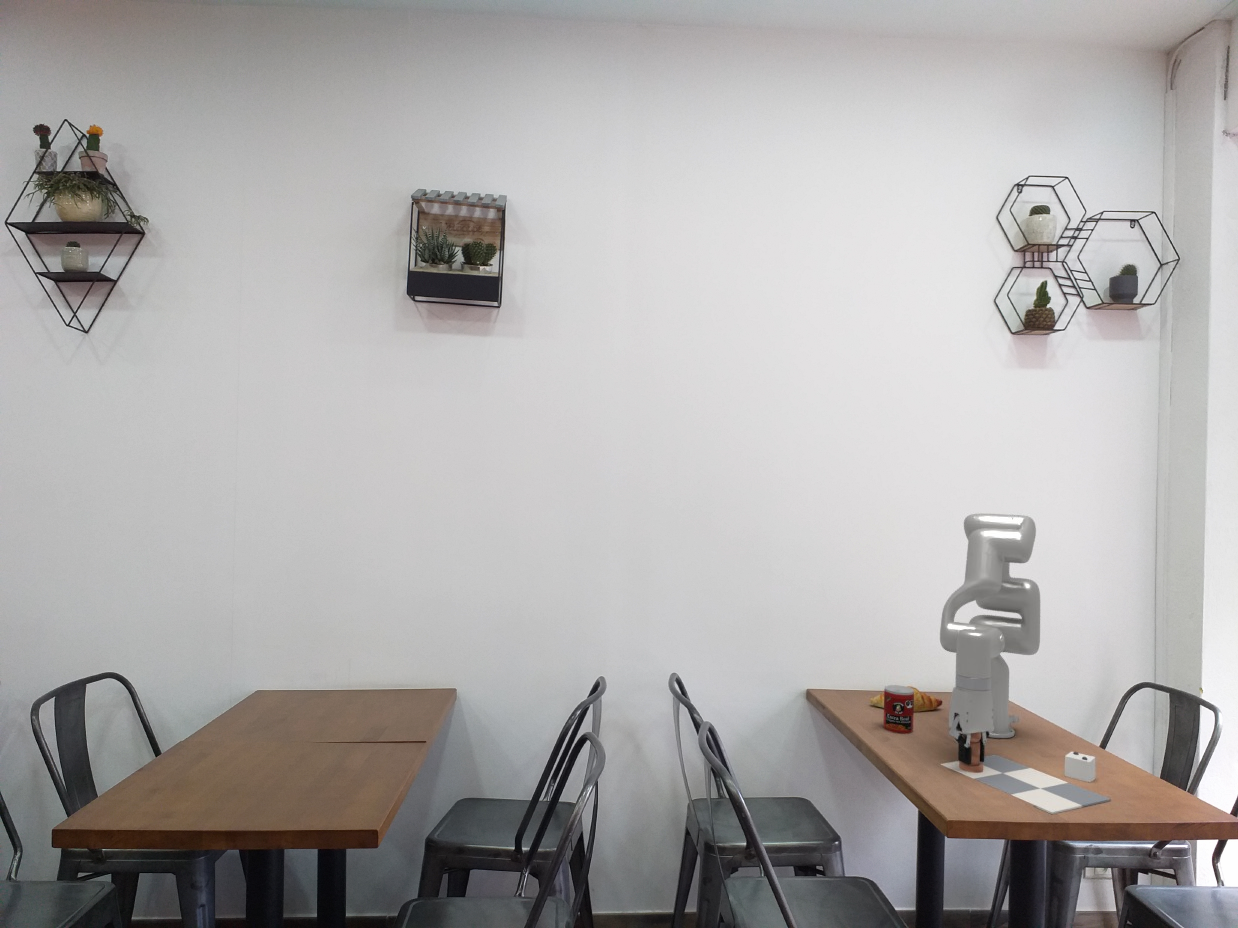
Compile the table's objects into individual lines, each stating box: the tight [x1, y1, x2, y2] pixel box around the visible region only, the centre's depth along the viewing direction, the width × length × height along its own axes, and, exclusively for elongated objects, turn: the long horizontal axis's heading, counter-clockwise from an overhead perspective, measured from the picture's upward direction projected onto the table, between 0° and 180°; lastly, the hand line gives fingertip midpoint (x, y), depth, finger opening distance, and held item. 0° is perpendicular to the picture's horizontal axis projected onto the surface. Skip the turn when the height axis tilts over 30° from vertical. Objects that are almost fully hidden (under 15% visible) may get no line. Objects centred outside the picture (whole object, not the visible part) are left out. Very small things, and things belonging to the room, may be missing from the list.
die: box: [1064, 750, 1096, 783], centre depth 178 cm, size 5×5×6 cm
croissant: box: [869, 685, 943, 713], centre depth 231 cm, size 21×10×8 cm, turn 88°
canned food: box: [883, 684, 915, 734], centre depth 210 cm, size 8×8×11 cm
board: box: [939, 754, 1112, 815], centre depth 174 cm, size 19×28×1 cm, turn 25°
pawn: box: [958, 732, 983, 773], centre depth 181 cm, size 5×5×10 cm
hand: (971, 760), depth 181 cm, fingers closed on pawn, 3 cm apart
